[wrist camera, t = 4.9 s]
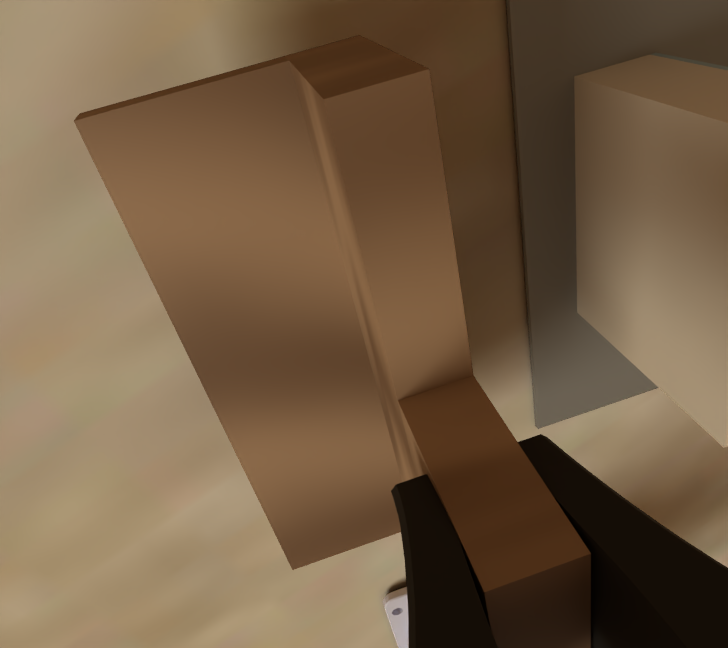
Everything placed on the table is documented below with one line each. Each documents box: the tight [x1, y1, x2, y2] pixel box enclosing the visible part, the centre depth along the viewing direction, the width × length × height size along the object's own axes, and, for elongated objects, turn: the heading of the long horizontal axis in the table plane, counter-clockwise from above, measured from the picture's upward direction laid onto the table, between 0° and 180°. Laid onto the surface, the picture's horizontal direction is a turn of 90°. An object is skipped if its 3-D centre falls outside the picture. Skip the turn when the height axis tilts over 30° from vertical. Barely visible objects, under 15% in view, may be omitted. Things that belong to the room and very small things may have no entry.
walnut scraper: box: [74, 35, 591, 648], centre depth 12 cm, size 14×6×8 cm, turn 12°
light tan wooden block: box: [574, 53, 728, 448], centre depth 16 cm, size 8×2×7 cm, turn 12°
